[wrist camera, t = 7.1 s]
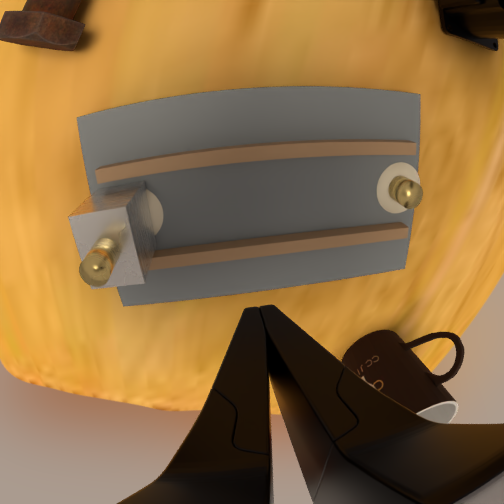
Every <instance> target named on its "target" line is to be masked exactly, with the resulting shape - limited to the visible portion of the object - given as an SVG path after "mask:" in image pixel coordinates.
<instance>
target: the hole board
mask: <svg viewBox="0 0 504 504" xmlns="http://www.w3.org/2000/svg"><path fill="white" fill-rule="evenodd" d="M77 123H78V130H79V136H80V142H81V148H82V153H83V159H84V164H85V169H86V174H87V179H88V184H89V188H90V193H91V195H92V194H93V193H94V192H95V191H96V190H98V189H103V188H108V187H113V186H119V185H124V184H130V183H136V182H142V181H144V182H145V188H146V193H147V198H148V204H149V209H150V214H151V219H152V224H153V229H154V233H155V238H156V243H157V245H156V248H155V252H154V255H153V258H152V261H151V264H150V268H149V271H148V275H147V278H146V281H145V284H136V285H126V286H117V289H118V292H119V295H120V298H121V301H122V303H123V306H133V305H144V304H154V303H164V302H173V301H183V300H192V299H200V298H209V297H217V296H226V295H234V294H242V293H250V292H257V291H265V290H272V289H279V288H287V287H294V286H301V285H307V284H314V283H321V282H327V281H334V280H340V279H347V278H353V277H359V276H365V275H371V274H377V273H383V272H389V271H394V270H400V269H405V265H406V259H407V254H408V248H409V241H410V235H411V228H412V221H413V213H414V208H413V209H406V208H405V207H403V206H402V205H400V204H399V203H397V202H396V201H394V200H393V199H392V198H391V197H390V195H389V192H388V188H389V185H390V182H391V181H392V179H394V178H395V177H397V176H405V177H407V178H409V179H411V180H412V181H414V182H416V183H418V184H419V185H420V179H419V175H418V162H419V145H420V94H415V93H407V92H399V91H389V90H379V89H366V88H350V87H323V86H289V87H261V88H245V89H232V90H221V91H212V92H203V93H195V94H188V95H181V96H174V97H168V98H162V99H156V100H150V101H145V102H140V103H135V104H130V105H125V106H121V107H116V108H112V109H108V110H104V111H100V112H96V113H92V114H88V115H84V116H81V117H77Z"/></svg>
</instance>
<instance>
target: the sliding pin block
mask: <svg viewBox="0 0 504 504" xmlns="http://www.w3.org/2000/svg"><path fill="white" fill-rule="evenodd" d="M68 218H69V221H70V225H71V228H72V232H73V235H74V239H75V242H76V245H77V248H78V251H79V254H80V258H81V261H82V263H81V264H80V267H79V272H80V276H81V278H82V279H83V280H84V281H85V282H86V283H87V284H89V285H90V286H91V289H98V288H108V287H117V286H126V285H136V284H145V281H146V278H147V275H148V271H149V268H150V264H151V261H152V258H153V255H154V252H155V248H156V245H157V243H156V238H155V233H154V229H153V224H152V219H151V214H150V209H149V204H148V198H147V193H146V188H145V182H144V181H142V182H136V183H130V184H124V185H119V186H113V187H108V188H103V189H98V190H96V191H95V192H94V193H93V194H92V195H91V196H90V197H89V198H87V199H86V200H85V201H84V202H83V203H82V204H81V205H80V206H79V207H78V208H77V209H76V210H75V211H74V212H73V213H72V214H71V215H70V216H69V217H68Z"/></svg>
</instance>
